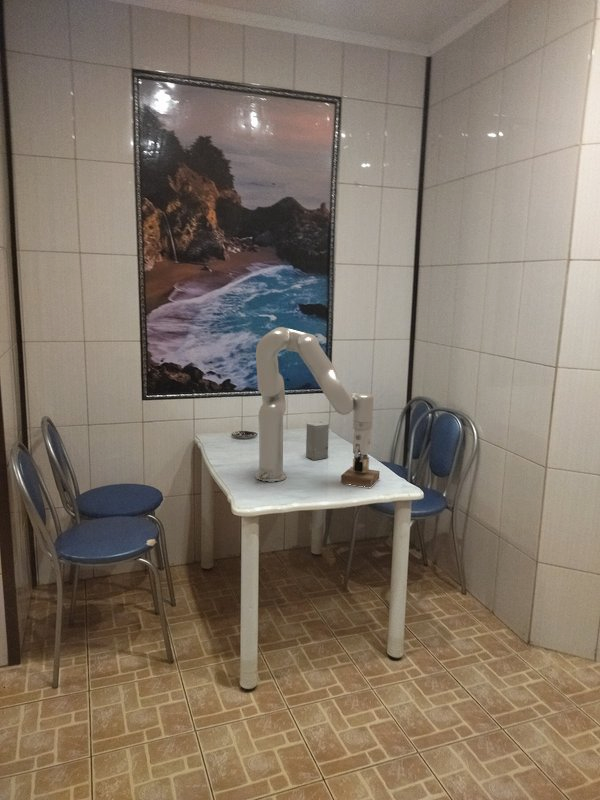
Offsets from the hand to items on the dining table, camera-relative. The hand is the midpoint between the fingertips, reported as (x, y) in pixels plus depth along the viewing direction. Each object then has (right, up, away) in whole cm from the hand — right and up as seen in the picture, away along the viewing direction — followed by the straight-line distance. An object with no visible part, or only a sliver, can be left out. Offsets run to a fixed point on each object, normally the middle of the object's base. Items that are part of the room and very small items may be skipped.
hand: (360, 468), depth 235 cm
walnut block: (0, -6, +1) cm, 6 cm away
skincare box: (-17, +1, +32) cm, 36 cm away
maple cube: (0, -1, 0) cm, 0 cm away
